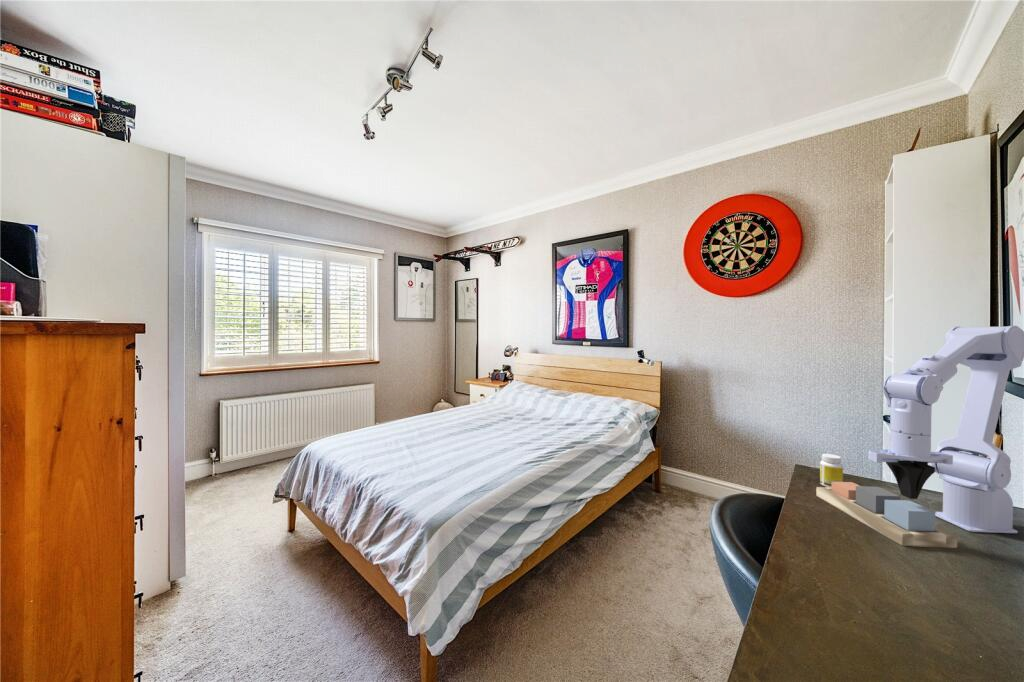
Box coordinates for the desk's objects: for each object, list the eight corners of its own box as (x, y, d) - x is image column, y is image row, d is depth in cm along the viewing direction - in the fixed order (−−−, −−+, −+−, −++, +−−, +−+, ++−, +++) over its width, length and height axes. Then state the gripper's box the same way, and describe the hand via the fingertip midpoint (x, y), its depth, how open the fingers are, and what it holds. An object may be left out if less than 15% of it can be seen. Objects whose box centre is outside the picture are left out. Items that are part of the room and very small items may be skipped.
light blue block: (909, 518, 77) (909, 500, 77) (934, 531, 72) (935, 511, 72) (884, 518, 77) (884, 499, 77) (908, 530, 72) (908, 511, 72)
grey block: (878, 503, 84) (878, 486, 84) (899, 514, 79) (900, 496, 79) (855, 502, 84) (855, 486, 84) (875, 513, 79) (875, 495, 79)
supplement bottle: (847, 489, 97) (848, 458, 97) (829, 489, 97) (830, 458, 97) (832, 482, 102) (832, 453, 102) (815, 482, 102) (815, 452, 102)
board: (857, 497, 92) (857, 488, 92) (957, 547, 70) (957, 535, 70) (816, 496, 93) (816, 487, 93) (902, 545, 71) (902, 533, 71)
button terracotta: (852, 497, 91) (852, 482, 91) (870, 507, 86) (870, 490, 86) (831, 497, 91) (831, 481, 91) (848, 506, 86) (848, 490, 86)
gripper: (926, 427, 78) (925, 489, 78) (855, 426, 79) (855, 487, 79) (965, 436, 71) (964, 504, 71) (886, 435, 72) (885, 502, 72)
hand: (909, 496), depth 75 cm, fingers closed
